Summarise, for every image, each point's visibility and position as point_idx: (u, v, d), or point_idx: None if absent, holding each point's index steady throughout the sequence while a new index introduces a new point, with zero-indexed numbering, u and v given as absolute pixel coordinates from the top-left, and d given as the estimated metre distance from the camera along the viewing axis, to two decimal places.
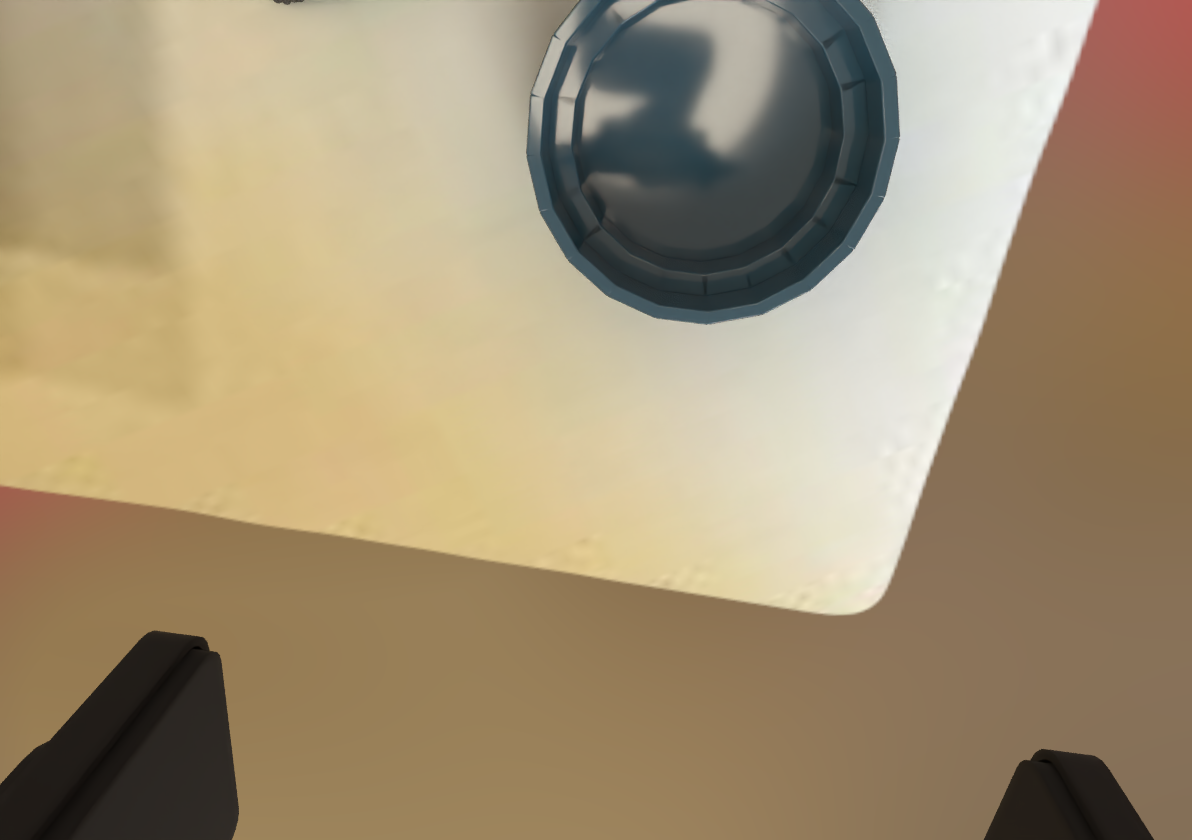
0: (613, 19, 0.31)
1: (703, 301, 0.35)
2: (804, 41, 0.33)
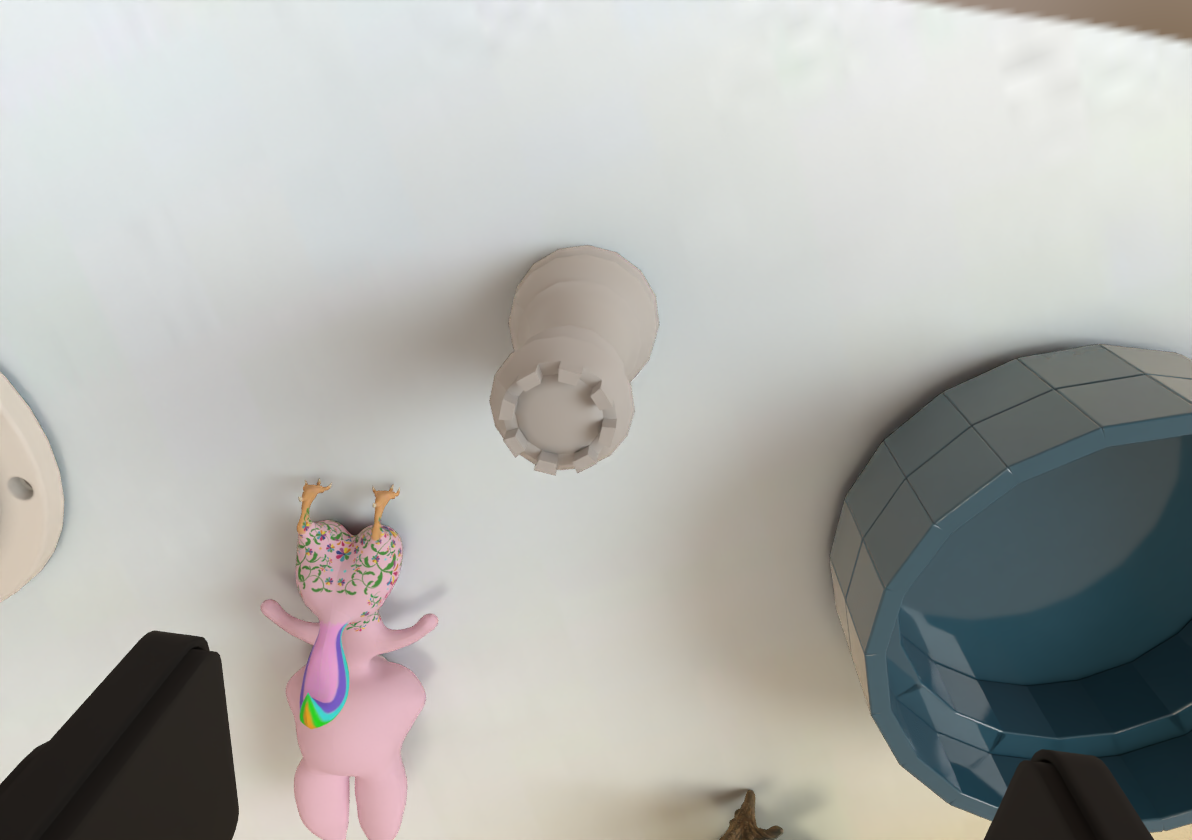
0: (915, 692, 0.25)
1: None
2: None
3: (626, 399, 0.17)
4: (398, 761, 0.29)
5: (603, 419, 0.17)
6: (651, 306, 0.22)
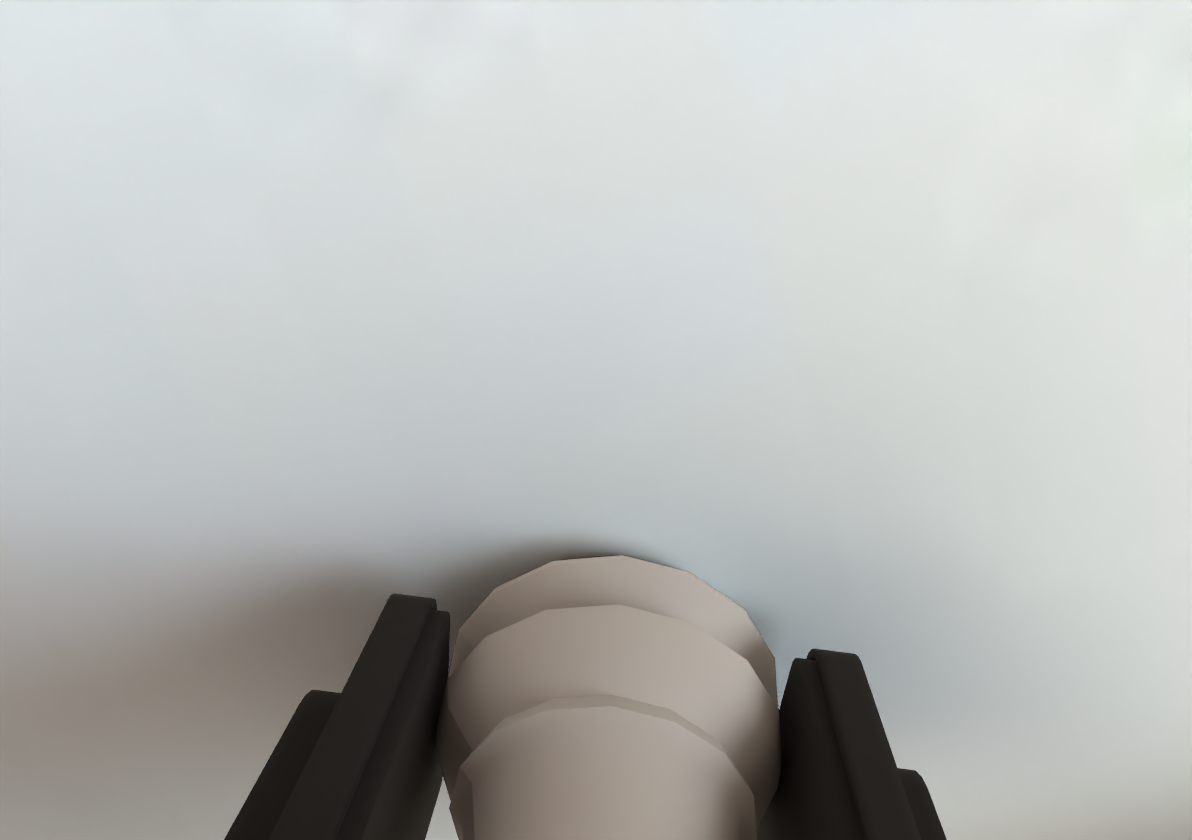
0: None
1: None
2: None
3: None
4: None
5: None
6: (776, 719, 0.09)
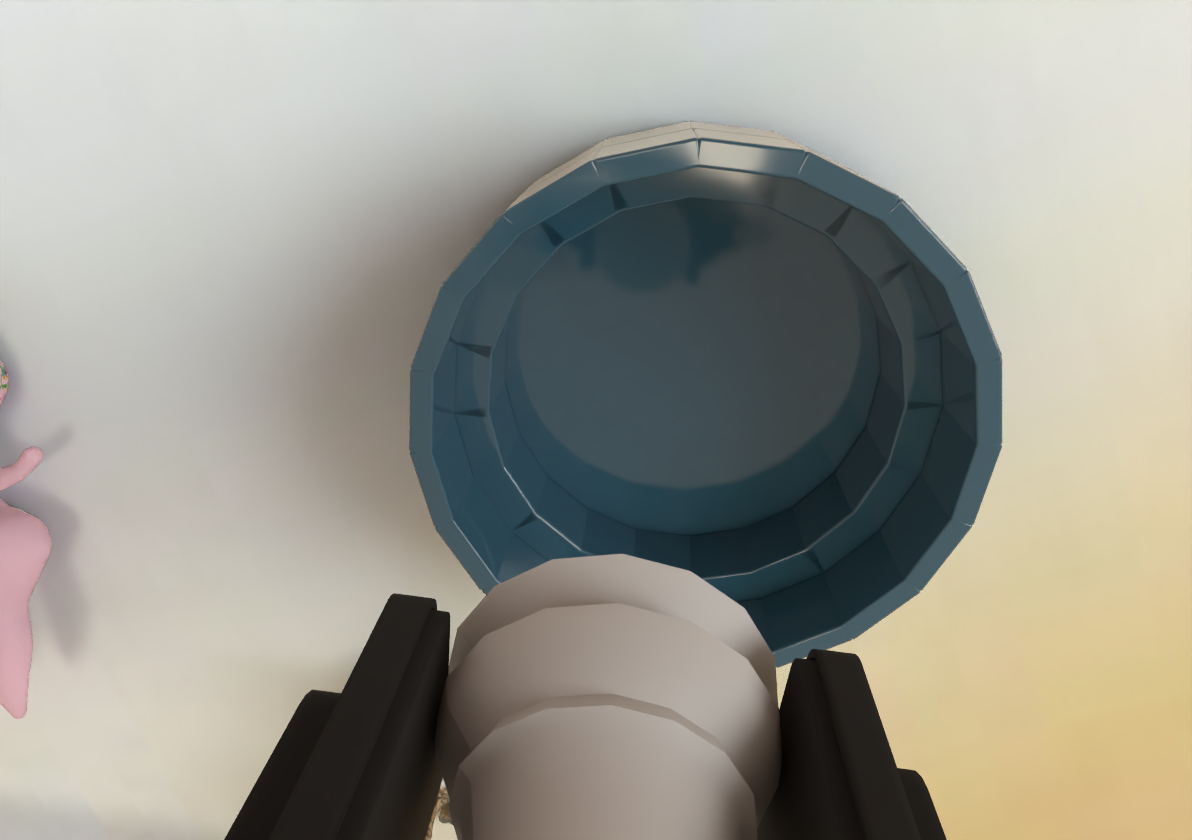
0: (531, 524, 0.23)
1: (954, 425, 0.20)
2: None
3: None
4: (20, 616, 0.27)
5: None
6: (776, 718, 0.09)
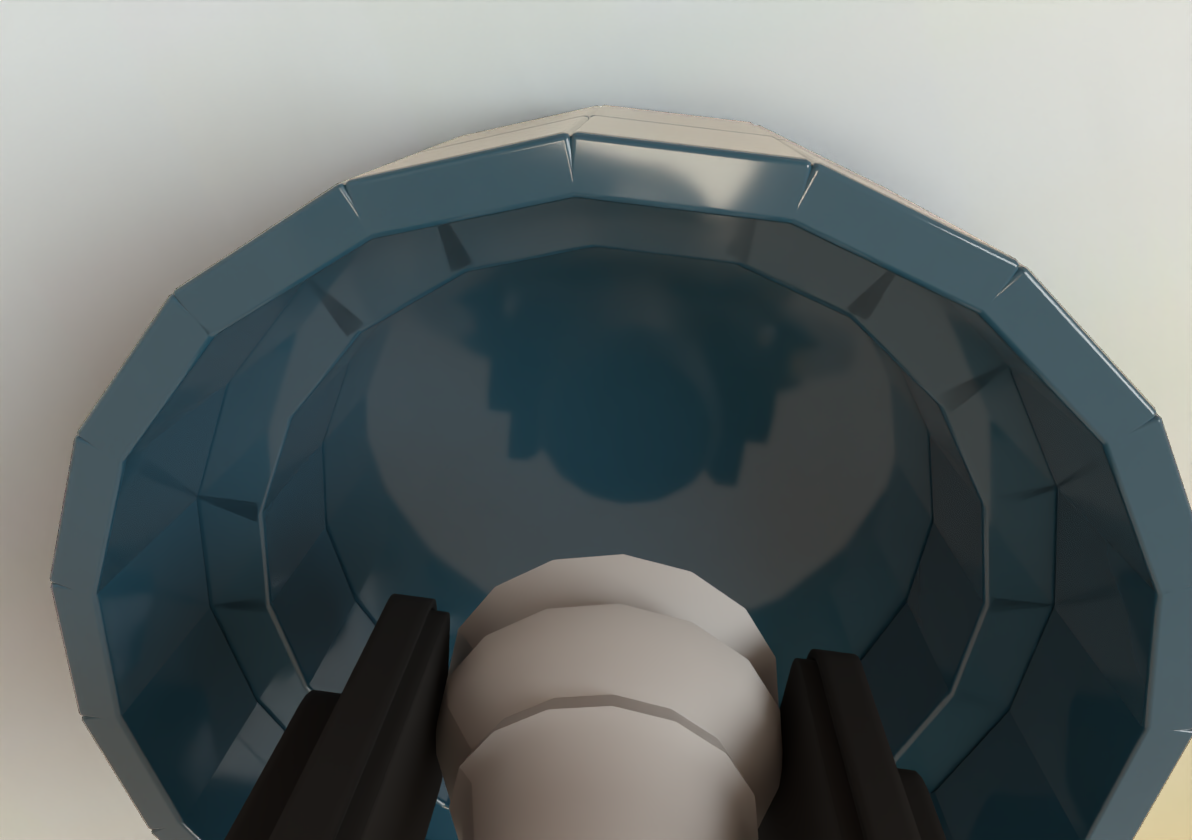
0: None
1: (1082, 658, 0.11)
2: None
3: None
4: None
5: None
6: (777, 718, 0.09)
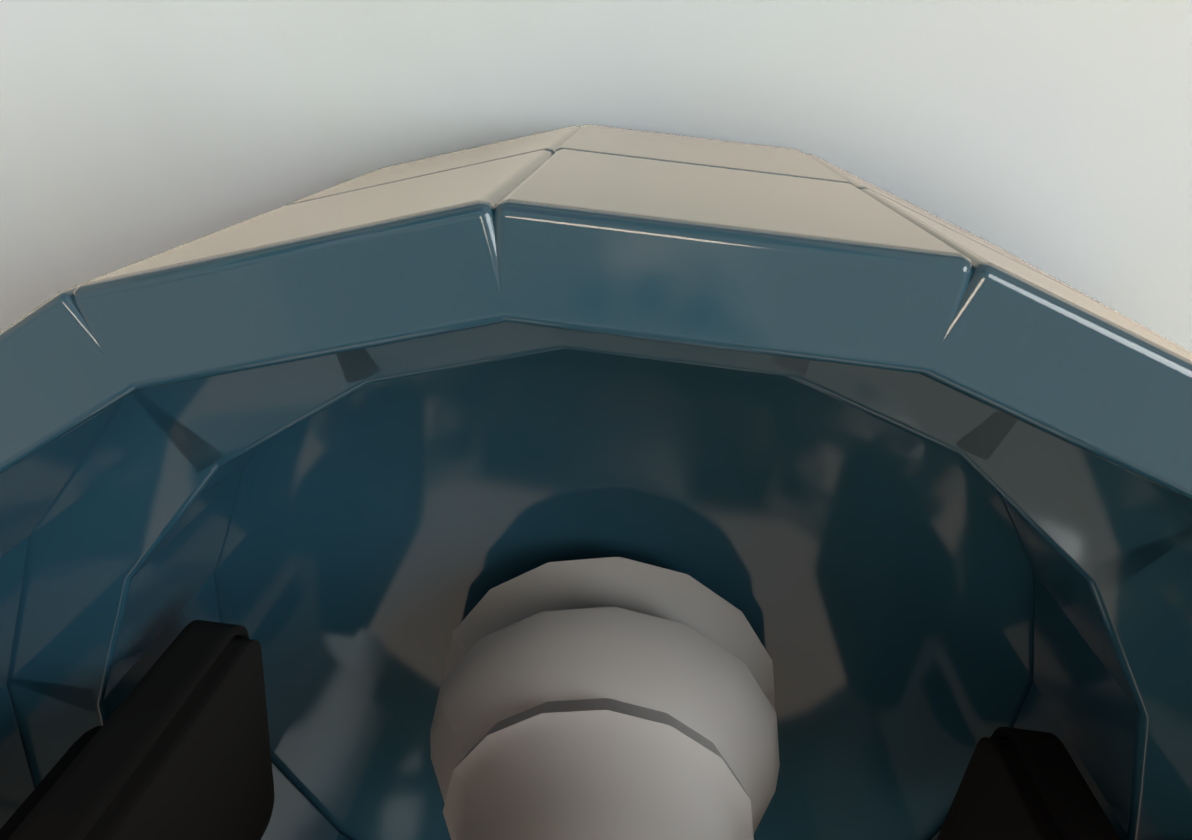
0: None
1: None
2: None
3: None
4: None
5: None
6: (773, 722, 0.09)
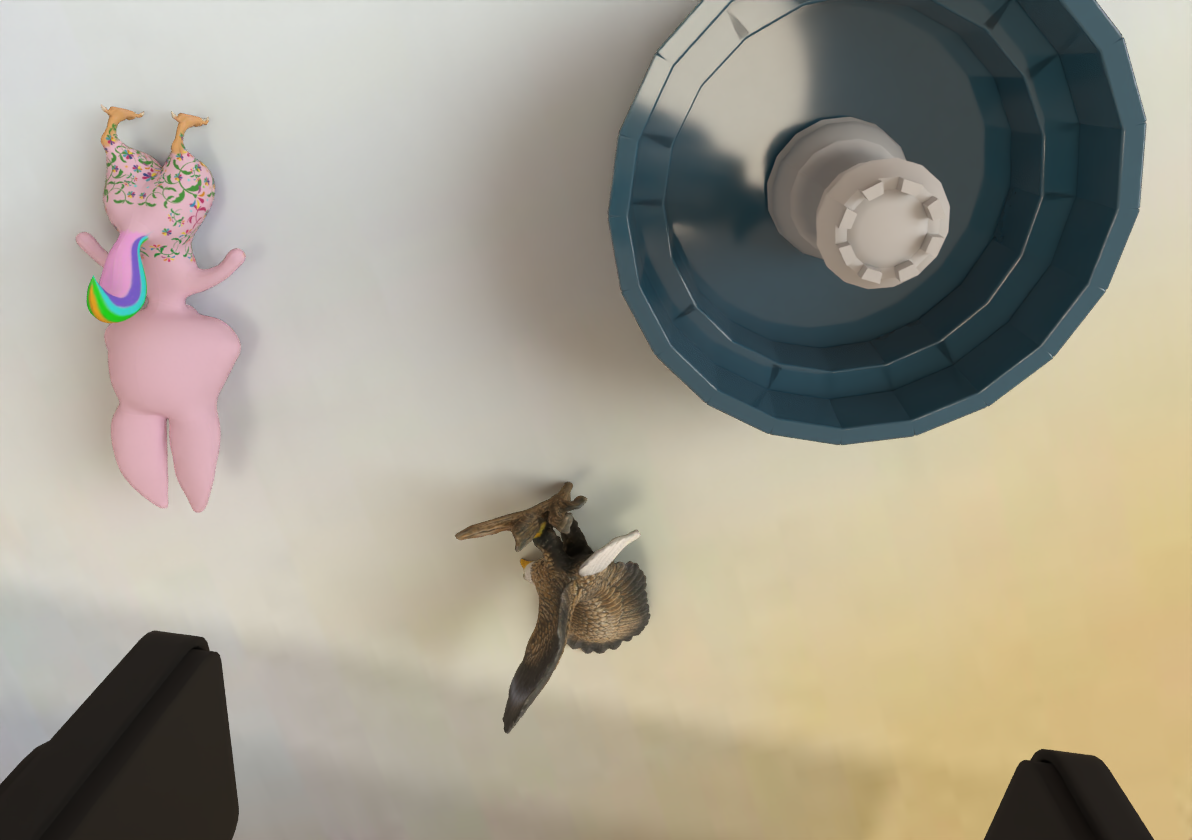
0: (690, 315, 0.26)
1: (1090, 205, 0.23)
2: None
3: (946, 218, 0.20)
4: (211, 409, 0.30)
5: (926, 234, 0.19)
6: None
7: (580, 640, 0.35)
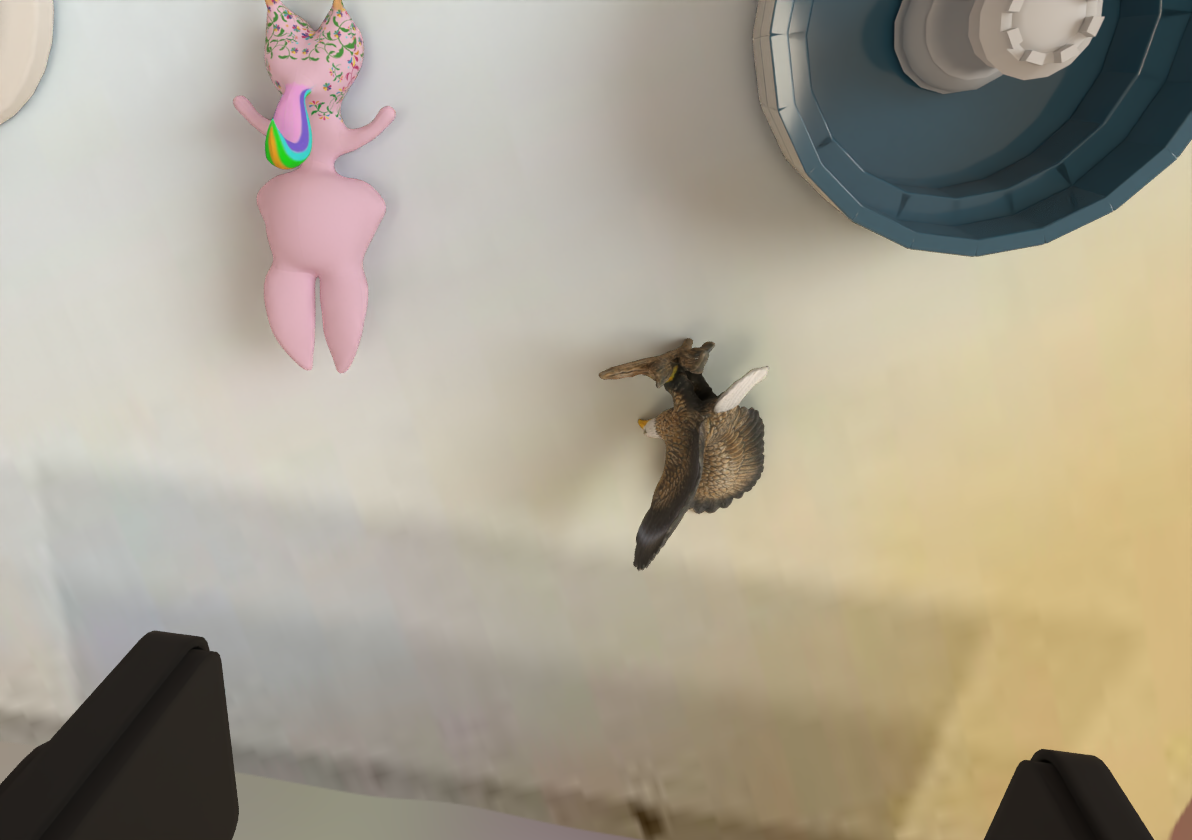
0: (826, 147, 0.28)
1: None
2: None
3: (1101, 4, 0.22)
4: (360, 267, 0.31)
5: (1084, 18, 0.21)
6: None
7: (694, 498, 0.37)
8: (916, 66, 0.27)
